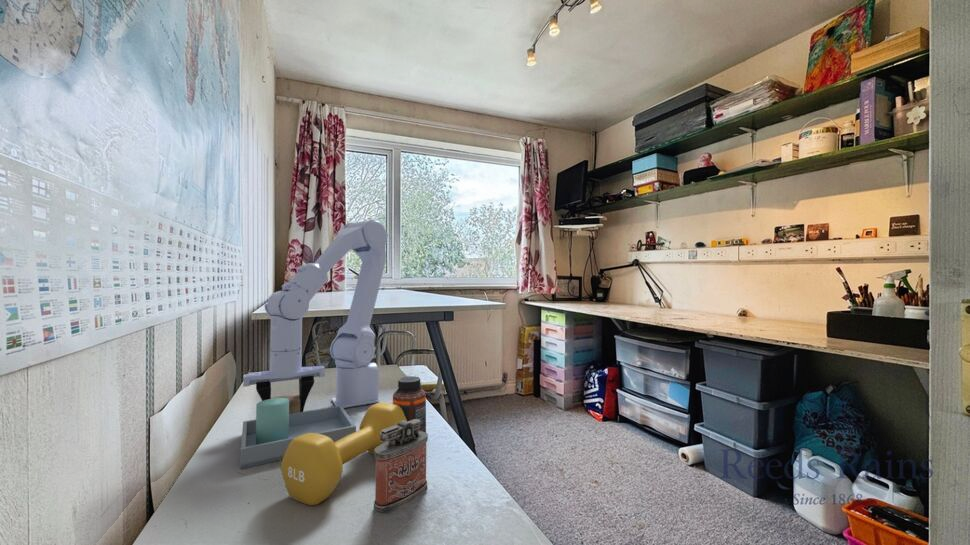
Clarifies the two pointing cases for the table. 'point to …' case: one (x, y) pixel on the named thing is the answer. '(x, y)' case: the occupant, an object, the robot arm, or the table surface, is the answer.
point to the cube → (292, 402)
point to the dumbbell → (332, 454)
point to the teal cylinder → (272, 420)
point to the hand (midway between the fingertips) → (285, 416)
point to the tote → (294, 434)
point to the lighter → (400, 466)
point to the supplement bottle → (411, 400)
